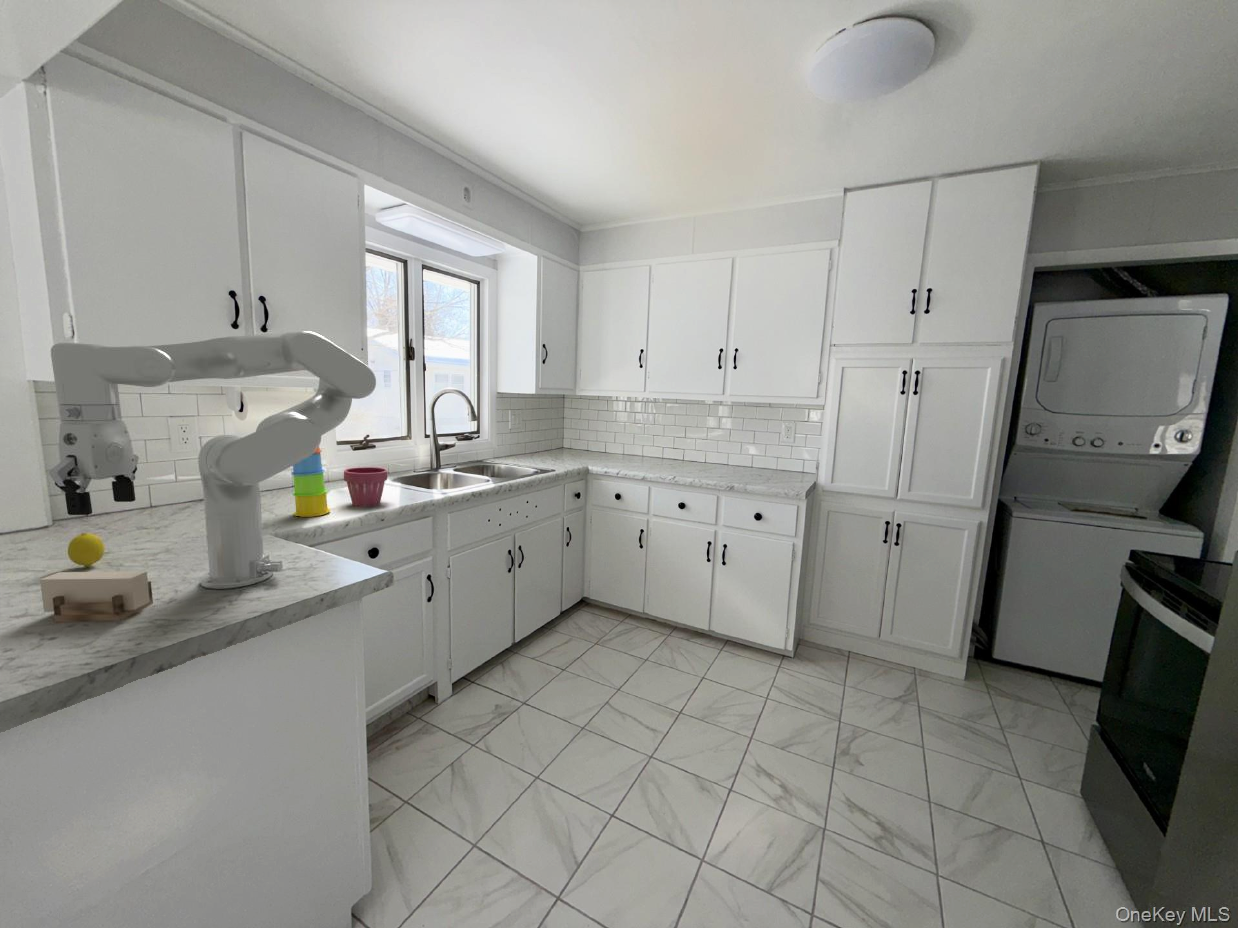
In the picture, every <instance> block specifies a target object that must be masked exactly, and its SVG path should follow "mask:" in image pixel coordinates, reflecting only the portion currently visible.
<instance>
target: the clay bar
mask: <svg viewBox="0 0 1238 928" xmlns="http://www.w3.org/2000/svg"><path fill="white" fill-rule="evenodd" d="M39 581H40V582H39V583H40V590H41V597H42V598H41V599H42V605H43V606H42V607H43V612H44V613H50V612H51V613H52V612H53V613H54V607H53V599H52V598H54V597H56V596H64V599H65V603H112V597H113V596H115V595H123V605H124V610H135V609H137V608H139V607H141V606H143V605H145V604H147V603H148V602H150V600H149V589H148V581H149V580H148V571H146V570H145V571H64V572H63V571H61V572H60V571H59V572H56V573H53V574H51V575H48V576H45V577H43V578H40V579H39Z"/></svg>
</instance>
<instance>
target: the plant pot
mask: <svg viewBox="0 0 1238 928" xmlns="http://www.w3.org/2000/svg"><path fill="white" fill-rule="evenodd" d="M387 480H388V470H387V468H384V467H374V466H369V467H368V466H367V467H366V466H362V467H360V466H358V467H350V468H345V469H344V470H343V481H344V482H346V485H347V488H348V492H349V497H350V499H351V504H352V506H354V507H359V508H360V507H361V508H362V507H364V508H365V507H374V506H375V507H376V506H378V505H380V504H381V500H382V496H383V492H384V488H385V482H386V481H387Z"/></svg>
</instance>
